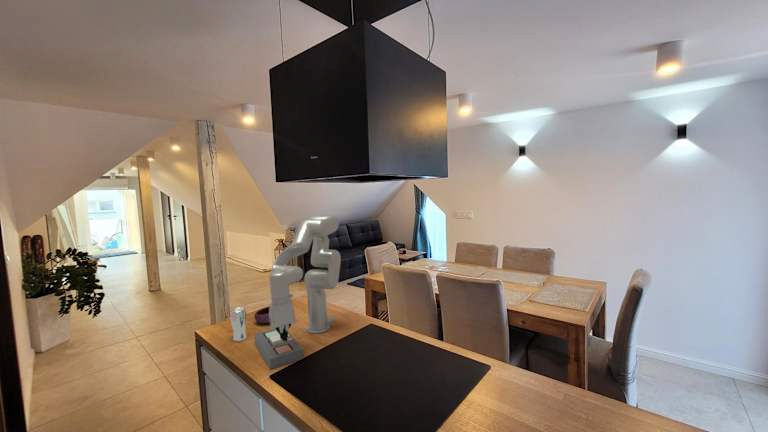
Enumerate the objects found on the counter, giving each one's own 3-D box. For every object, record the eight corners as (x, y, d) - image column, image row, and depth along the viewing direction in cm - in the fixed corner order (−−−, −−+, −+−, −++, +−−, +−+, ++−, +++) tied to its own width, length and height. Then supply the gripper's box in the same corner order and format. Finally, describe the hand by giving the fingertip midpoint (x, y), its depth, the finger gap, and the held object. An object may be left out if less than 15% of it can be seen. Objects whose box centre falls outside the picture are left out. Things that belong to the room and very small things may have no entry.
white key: (281, 340, 149) (281, 333, 148) (285, 344, 144) (285, 338, 144) (269, 343, 145) (269, 337, 145) (273, 348, 141) (272, 342, 141)
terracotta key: (288, 351, 141) (287, 344, 141) (292, 356, 137) (291, 349, 136) (275, 355, 138) (275, 348, 138) (279, 360, 134) (278, 353, 133)
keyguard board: (284, 334, 160) (283, 326, 160) (303, 358, 137) (302, 348, 137) (255, 343, 153) (254, 333, 152) (270, 369, 130) (269, 358, 129)
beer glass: (241, 342, 154) (239, 312, 153) (229, 341, 155) (226, 311, 154) (250, 335, 161) (248, 307, 159) (238, 334, 162) (236, 306, 161)
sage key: (276, 336, 156) (276, 330, 156) (280, 340, 152) (279, 334, 151) (265, 339, 153) (264, 333, 153) (268, 343, 148) (267, 337, 148)
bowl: (265, 328, 169) (264, 314, 168) (250, 323, 175) (249, 309, 175) (288, 317, 182) (288, 304, 182) (274, 313, 189) (273, 300, 188)
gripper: (294, 292, 143) (298, 330, 145) (260, 301, 134) (264, 341, 137) (300, 297, 137) (303, 337, 139) (265, 307, 128) (269, 349, 131)
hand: (284, 339), depth 138 cm, fingers closed
